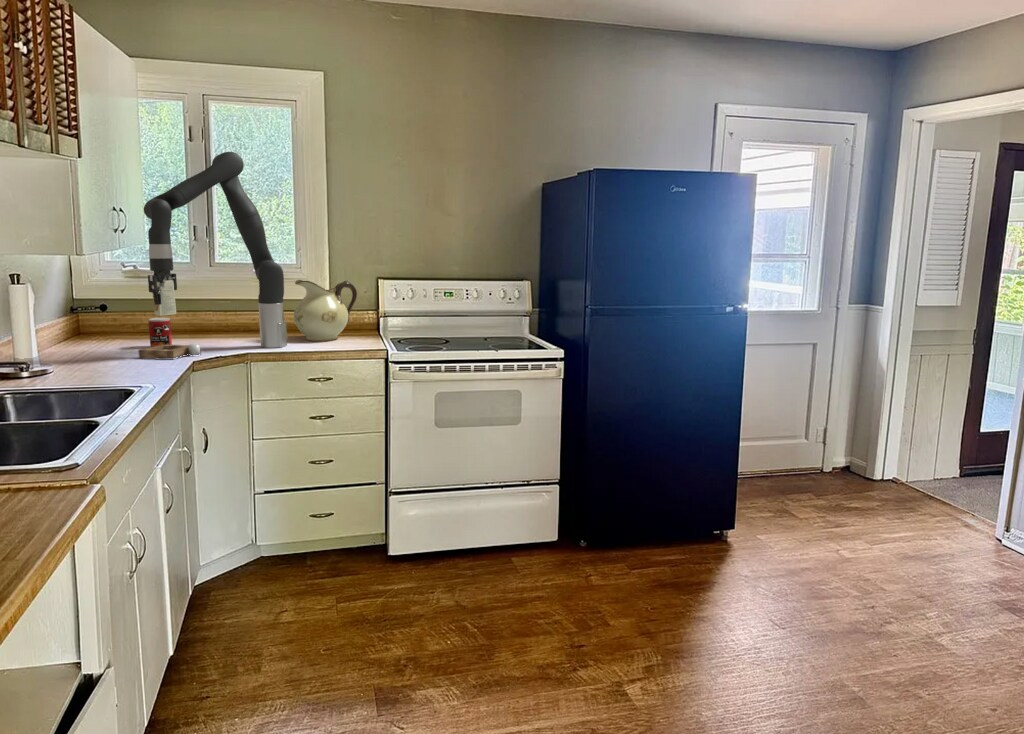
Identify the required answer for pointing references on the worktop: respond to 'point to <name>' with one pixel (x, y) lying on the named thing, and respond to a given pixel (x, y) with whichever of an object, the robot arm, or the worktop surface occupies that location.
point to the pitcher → (323, 311)
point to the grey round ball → (194, 349)
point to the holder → (164, 351)
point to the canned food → (160, 331)
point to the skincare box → (166, 299)
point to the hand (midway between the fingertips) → (164, 303)
